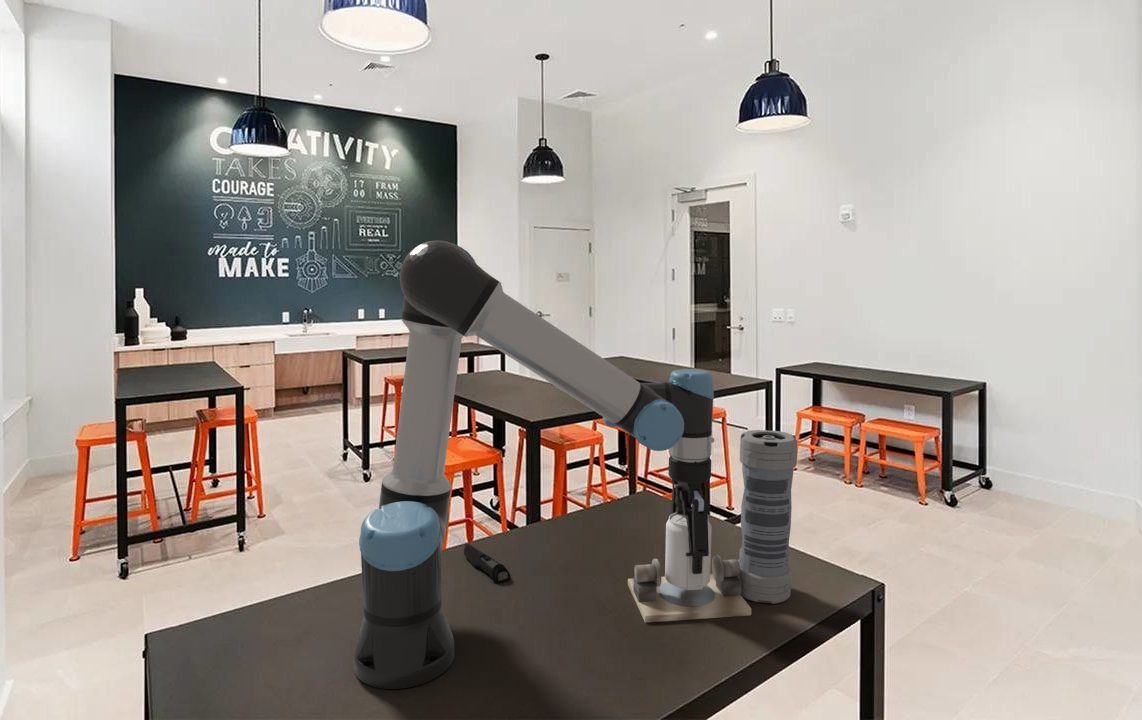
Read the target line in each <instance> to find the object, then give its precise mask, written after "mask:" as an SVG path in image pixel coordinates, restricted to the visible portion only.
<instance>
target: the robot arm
mask: <svg viewBox="0 0 1142 720" xmlns="http://www.w3.org/2000/svg"><path fill="white" fill-rule="evenodd" d="M399 284H400V288H401V292H402V294H403V302H402V303H403V305H402V313H401V322H402V323H403V324H404V325H405V327H406V328H407V329H408V332H409V335H408V342H407V351H406V360H405V365H404V376H403V384H402V389H401V391H402V392H401V399H400V406H399V407H400V409H399V417H398V423H397V425H398V426H397V432H396V433H397V434H396V441H395V447H394V448H395V450H394V456H393V464H392V465H393V466H392V470H391V471H390V472H388V473H387V474H386V475H385V476H383V478H382V479H381V485H380V495H379V503H378V504H379V505H378V509H377V508H375V509H373V510H372V511H370V513H368V515H366V516H365V518H364V519H363V521H362V523H361V526H360V535H359V540H358V544H359V550H360V561H361V563H360V564H361V566H360V567H361V582H362V584H361V586H362V602H363V603H362V605H363V618H362V619H363V620H362V622H361V626H360V629H359V631H358V632H359V633H358V635H357V640H356V643H355V646H354V650H353V655H352V658H353V670H354V674H355V676H356V677H357V678H358V679H359V680H360V681H361V682H363V683H364V684H366V685H368V686H370V687H373V688H374V687H375V688H379V689H386V690H399V689H409V688H413V687H416V686H420V685H424V684H426V683H428V682H430V681H432V680H434V679H437V678H438V677H440V676H441V675H442V674H443V673H445V672H446V671H447V670H448V669H449V668H450V666H451V665H452V664H453V662H454V659H455V638H454V635H453V633H452V630H451V627H450V625H449V622H448V620H447V617H446V614H445V612H444V609H443V603H442V601H443V600H442V598H443V597H442V595H443V594H442V554H443V547H444V541H445V536H446V531H447V528H448V524H449V516H450V515H449V514H450V513H449V506H450V498H451V492H452V491H451V489H452V483H451V482H450V480H449V479H448V478H447V477H446V476H445V470H446V469H445V468H446V463H447V462H446V460H447V453H448V445H449V440H450V439H449V438H450V432H451V431H450V429H451V424H452V415H453V408H454V402H455V401H454V400H455V393H456V392H455V391H456V385H457V384H456V383H457V377H458V370H459V363H460V354H461V347H462V339H463V337H464V338H468V337H473V336H476V337H478V338H479V339H481V340H483V341H484V342H486V343H487V344H488V345H490V346H492V347H493V348H494V349H496V350H498V351H499V352H501V353H503V354H504V355H506V356H507V357H509V358H511V359H512V360H513V361H515V362H517V363H518V364H520V365H521V366H523V367H524V368H526V369H528V370H529V371H531V372H533V373H534V374H536V375H537V376H539V377H541V378H542V379H544V380H545V381H547V382H548V383H550V384H551V385H553V386H554V387H555V388H557V389H559V390H560V391H562V392H564V393H565V394H567V395H568V396H570V397H572V398H573V399H575V400H576V401H578V402H580V403H581V404H583V405H584V406H586V407H587V408H589V409H591V410H592V411H594V412H596V413H597V414H598V415H600V416H602V419H603V423H604V424H605V425H606V426H607V427H611V428H612V427H614V428H619V429H621V430H623V431H624V432H626V433H627V434H629V436H632V437H634V438H635V439H636V441H637V442H638V443H639V444H640V445H642V446H644V447H645V448H646V449H648V450H651V451H655V452H662V451H666V450H668V455H670V456H669V457H668V472H667V473H668V477H669V478H670V479H671V482H672V483H671V485H672V486H671V488H672V489H671V504H670V515H671V514H673V513H676V512H677V515H678V514H684V515H685V516H686V520H687V525H688V541H689V553H686V556H687V590H700V589H703V563H704V556H709V543H708V519H709V517H708V516H709V515H708V511H709V499H708V498H704V490H703V489H702V484H703V483H705V482H708V481H709V480H710V479H711V478H712V458H710V457H711V456H712V449H713V447H712V444H713V443H714V442H715V438H714V437H713V412H714V399H715V396H714V395H715V394H714V378H713V375H712V374H711V373H710V372H708V371H706V370H702V369H697V368H696V369H695V368H691V369H690V368H683V369H675V370H673V371H672V372H670V375H669V380H668V381H664V382H639V381H637V380H636V379H635V378H633V377H631V376H630V375H629V374H628V373H625V371H623V370H621V368H618V367H617V366H616V365H614V364H612V363H611V362H610V361H608V360H606V359H605V358H604V357H601V356H600V355H599V354H598V353H596V352H594V351H593V350H591V349H589V347H587V346H585V345H583V344H582V343H580V342H579V341H578V340H576V339H575V338H573V337H571V336H570V335H569V334H567V333H566V332H564V331H563V330H561V329H559V328H558V327H557V326H555V325H553V324H552V323H550V322H549V321H548V320H546V319H544V318H543V317H541V316H539V314H538V313H535V312H534V311H532V310H531V309H530V308H528V307H526V306H524V305H523V304H521V303H520V302H518V301H517V300H515V299H514V298H512V297H511V296H510V295H508V294H507V293H505V292H504V290H503V285H502V282H501V281H499V280H497V279H496V278H495V277H494V276H492V275H490V274H489V273H488V272H486V271H485V269H483V268H482V267H481V266H480V265H478V264H477V263H476V260H475V259H474V257H473V256H472V255H471V254H470V253H469V251H468V250H466V249H464V248H463V247H462V246H460V245H458V244H455V243H453V242H449V241H446V240H438V239H437V240H429V241H425V242H423V243H420V244H418V245H417V246H415V247H414V248H413V249H412V250H411V251H410V252H408V254H407V255H406V256H405V258H404V260H403V262H402V265H401V268H400V272H399ZM670 515H669V516H670Z"/></svg>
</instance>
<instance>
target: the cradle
mask: <svg viewBox="0 0 1142 720" xmlns="http://www.w3.org/2000/svg"><path fill="white" fill-rule="evenodd" d="M738 560H739V559H736V558H734V559H722V558H721V556H720V555H719V554H717V555H713V557H712V558H711V571H712V573H710V582H709V583H708V584H707V585H706V586H704V587H703V589H700V590H687V589H682V588H679V587H676V586H674V585H672V584H670V583H669V582H668V581H667V580H666V578H665V576H662V567H661V564H660V560H659V559H658V558H652V560H651V564H650V563H649V564H635V565H634V576H633V578H628V579H627V586H628V588H629V591H630V593H631V595H632V598H633V599H634V601H635V604H636V606H637V608H638V610H639V612H640V614H641V616H642V619H643V621H644V623H645V624H646V623H657V622H672V621H687V620H700V619H701V620H703V619H716V618H718V619H719V618H729V617H733V618H734V617H745V616H751V615H752V608H751V607H750V605H749V603H747V601H746V599H745V598H744V597H742V596H741V584H742V581H741V580H740V578H739V577H738V576H740V564H739V561H738Z"/></svg>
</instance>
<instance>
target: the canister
mask: <svg viewBox="0 0 1142 720" xmlns="http://www.w3.org/2000/svg"><path fill="white" fill-rule="evenodd" d="M739 441H740V444H739V462H740V463H741V464H742V466H741V467H742V468H741V470H742V479H743V487H744V489H743V495H742V500H741V506H740V507H741V510H740V529H741V535H742V540H741V542H742V543H741V544H742V545H741V547H740V549H739V554H738V555H739V558H738V559H737V560H738V561H739V564H740V576H738V577H739V578H740V580H741V581H742V584H741V596H742V597H743V599H745V600H748V601H752V602H754V603H765V604H771V605H772V604H773V605H774V604H780V603H783V602H785V601H787V600H788V599H789V598H790V597H791V592H792V576H793V575H792V574H793V573H792V571H793V570H792V569H791V565H790V564H789V563H790V551H789V549H790V548H789V547H790V546H789V545H790V534H791V526H792V510H793V509H792V506H793V505H792V486H793V478H794V468H795V467H796V466H797V464H798V450H799V449H798V440H797V439H796V436H795V435H794V434H792V433H788V432H785V431H779V430H762V429H761V430H760V429H752V430H747V431H745V432H743V433H741V435H740V440H739Z"/></svg>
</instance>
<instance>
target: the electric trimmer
mask: <svg viewBox="0 0 1142 720" xmlns="http://www.w3.org/2000/svg"><path fill="white" fill-rule="evenodd" d="M463 555H464V556H465V558H466V559H467V560H468V562H470V564H471V565H472V566H473V567H474V568H476V569H481V570H482V571H484V572H485V573H486V574H488V576H490V577H491V580H492V583H494V584H498V585H500V584H503V583H506V582H510V581H511V580H512V577H511V574H510V572H509V570H508V568H507V567H506V566H505V565H504V564H501V563H500V562H499V561H497V560H496V559H493V557H491V556H489V555H487V554H486V553H484V552H482V551H481V550H479V549H477V548H476V547H475V546H473V545H471V544H470V543H466V544H465V545H464V549H463Z"/></svg>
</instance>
